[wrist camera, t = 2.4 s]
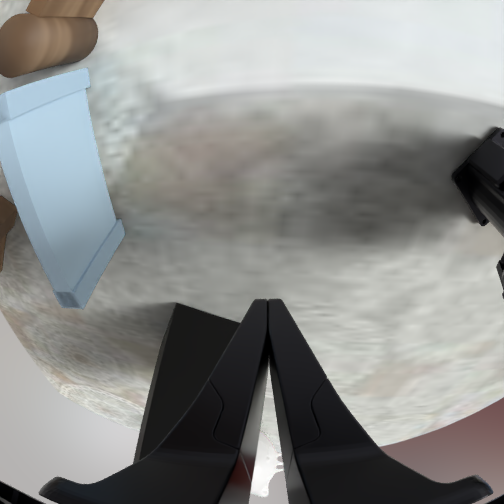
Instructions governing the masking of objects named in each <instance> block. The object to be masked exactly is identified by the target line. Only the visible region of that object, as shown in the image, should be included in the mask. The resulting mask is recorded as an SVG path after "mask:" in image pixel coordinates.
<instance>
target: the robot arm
mask: <svg viewBox="0 0 504 504" xmlns="http://www.w3.org/2000/svg"><path fill="white" fill-rule="evenodd" d="M501 133H502V135H501ZM500 135H501V136H500ZM458 176H459V179H457V177H458ZM452 180H453V182H454V184H455V185H456V187H457V188H458V190H459V191H460V193H461V194H462V196H463V198H464V199H465V201H466V202H467V204H468V206H469V207H470V209H471V211H472V212H473V214H474V216H475V218H476V219H477V221H478V223H479V224H480V225H481V226H485V225H486V224H487V223H489V222H491V223H492V224H493V226H494V227H495V228H496V229H497V230H498V231H499V232H500V233H501V235H502V236H503V237H504V129H502V128H498V129H497V130H496V131H495V132H494V133H493V134H492V135H491V136H490V137H489V138H488V139H487V140H486V141H485V142H484V143H483V144H482V145H481V146H480V147H479V148H478V149H477V150H476V151H475V152H474V153H473V154H472V155H471V156H470V157H469V158H468V159H467V160H466V161H465V162H464V163H463V164H462V165H461V166H460V167H459V168H458V169H457V170H456V171H455V172H454V173H453V175H452ZM496 268H497V271H498V274H499V277H500V280H501V283H502V287H503V290H504V253H503V256H502V258H501V260H499V262H498V264H497V266H496ZM502 296H503V299H504V292H503V293H502ZM268 367H270V375H271V382H272V389H273V396H274V403H275V410H276V417H277V424H278V431H279V438H280V445H281V452H282V457H283V458H282V459H283V465H284V472H285V479H286V487H287V493H288V501H289V504H472V503H475V502H477V501H479V500H481V499H483V498H485V497H487V496H489V495H491V494H493V490H492V489H491V487H490V486H489V484H488V483H486V482H485V481H484V480H483V479H482V478H481V477H479V476H478V475H472V476H469V477H466V478H463V479H461V480H458V481H455V482H452V483H440V482H436V481H433V480H431V479H429V478H427V477H425V476H424V475H422V474H420V473H418V472H416V471H414V470H413V469H411V468H409V467H407V466H405V465H404V464H402V463H400V462H399V461H397V460H395V459H393V458H391V457H390V456H389V455H387V454H386V453H385V452H384V451H382V450H381V449H380V448H379V447H378V446H377V444H376V443H375V442H374V441H373V440H372V439H371V437H370V436H369V435H368V434H367V432H366V431H365V430H364V429H363V427H362V426H361V425H360V424H359V422H358V421H357V420H356V419H355V417H354V416H353V415H352V414H351V412H350V411H349V410H348V408H347V407H346V406H345V404H344V403H343V402H342V400H341V399H340V397H339V395H338V394H337V392H336V391H335V389H334V388H333V386H332V384H331V382H330V381H329V379H328V378H327V376H326V374H325V372H324V371H323V369H322V367H321V366H320V364H319V362H318V360H317V359H316V357H315V355H314V354H313V352H312V350H311V348H310V347H309V345H308V343H307V342H306V340H305V338H304V337H303V335H302V333H301V331H300V330H299V328H298V326H297V325H296V323H295V321H294V319H293V318H292V316H291V314H290V313H289V311H288V309H287V308H286V306H285V304H284V302H283V301H282V300H281V299H269V300H267V299H255V300H254V301H253V303H252V304H251V306H250V308H249V310H248V311H247V313H246V315H245V317H244V318H243V320H242V322H241V324H240V325H239V327H238V329H237V331H236V332H235V334H234V336H233V337H232V339H231V341H230V343H229V344H228V346H227V348H226V349H225V351H224V353H223V355H222V356H221V358H220V360H219V361H218V363H217V365H216V366H215V368H214V370H213V372H212V373H211V375H210V377H209V378H208V380H209V381H206V383H205V385H204V386H203V388H202V390H201V391H200V393H199V394H198V396H197V398H196V399H195V401H194V402H193V404H192V405H191V406H190V408H189V409H188V410H187V411H186V413H185V414H184V415H183V417H182V418H181V419H180V420H179V422H178V423H177V424H176V425H175V426H174V428H173V429H172V430H171V431H170V432H169V434H168V435H167V436H166V437H165V438H164V440H163V441H162V442H161V443H160V444H159V445H158V447H157V448H156V449H155V450H154V451H153V452H151V453H150V454H149V455H148V456H146V457H145V458H143V459H141V460H139V461H138V462H136V463H134V464H132V465H130V466H128V467H127V468H125V469H123V470H121V471H119V472H117V473H115V474H113V475H111V476H109V477H107V478H105V479H103V480H101V481H99V482H96V483H92V484H79V483H76V482H73V481H70V480H67V479H65V478H61V477H55V478H53V479H52V480H50V481H49V482H48V483H46V484H45V485H44V486H43V487H42V488H41V490H40V491H39V495H41V496H43V497H45V498H47V499H49V500H51V501H54V502H56V503H58V504H249V498H250V492H251V486H252V484H251V483H252V479H253V473H254V467H255V460H256V454H257V447H258V440H259V433H260V427H261V420H262V413H263V406H264V398H265V391H266V384H267V376H268ZM0 504H46V503H43V502H41V501H39V500H37V499H35V498H33V497H31V496H29V495H27V494H25V493H23V492H21V491H19V490H17V489H15V488H14V487H12V486H9V485H8V484H6V483H4V482H2V481H0ZM485 504H504V494H503V495H501V496H499V497H497V498H495V499H494V500H491V501H489V502H487V503H485Z"/></svg>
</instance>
